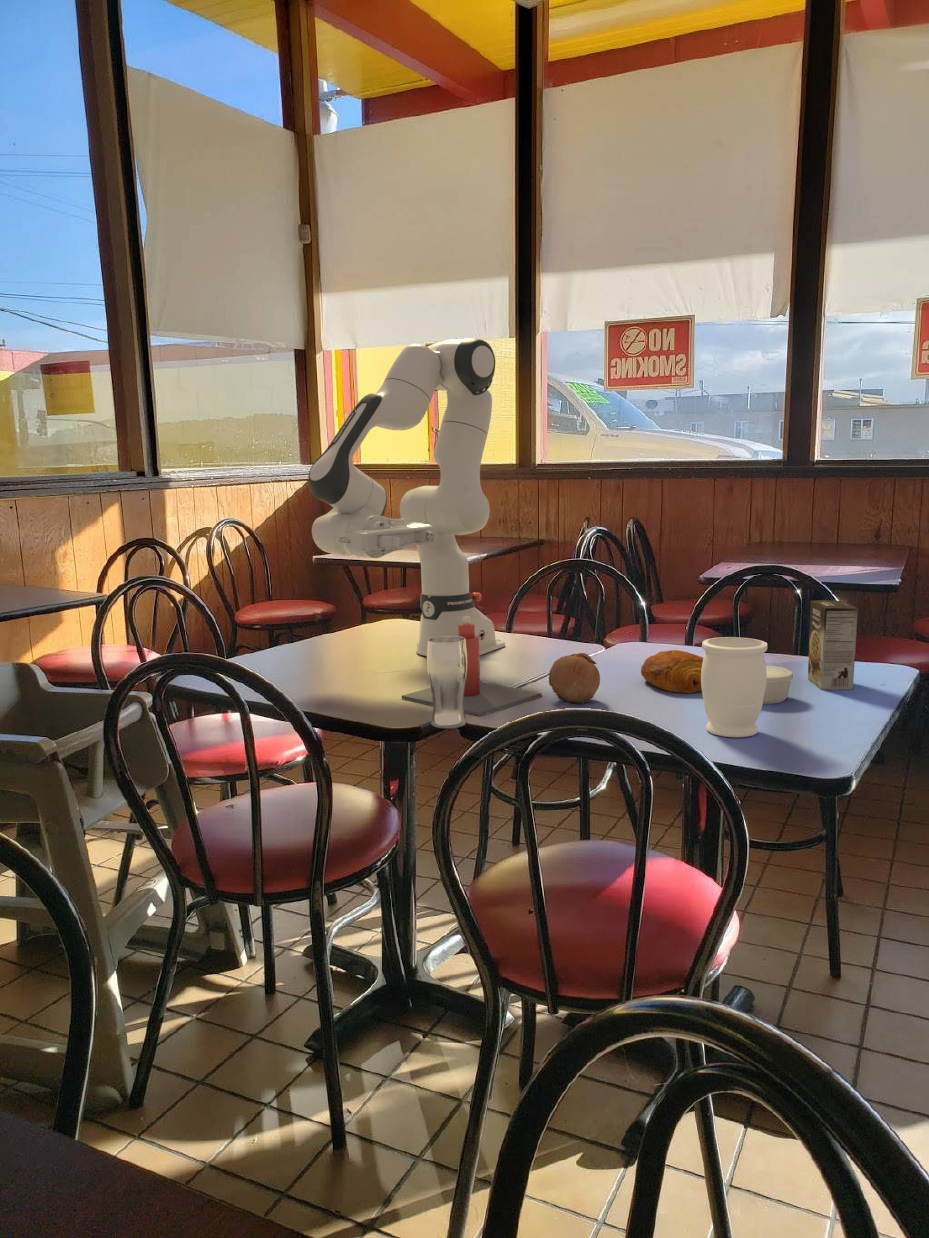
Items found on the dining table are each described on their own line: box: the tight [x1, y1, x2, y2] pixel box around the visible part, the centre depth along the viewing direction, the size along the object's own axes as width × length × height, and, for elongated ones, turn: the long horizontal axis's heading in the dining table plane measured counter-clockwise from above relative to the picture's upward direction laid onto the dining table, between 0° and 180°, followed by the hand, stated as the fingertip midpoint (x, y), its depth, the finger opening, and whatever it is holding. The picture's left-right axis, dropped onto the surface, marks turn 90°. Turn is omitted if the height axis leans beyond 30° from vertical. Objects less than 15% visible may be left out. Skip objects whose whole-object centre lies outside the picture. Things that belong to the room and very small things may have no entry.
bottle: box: [458, 616, 481, 697], centre depth 182 cm, size 5×5×15 cm
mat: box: [401, 680, 543, 717], centre depth 183 cm, size 18×20×1 cm
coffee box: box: [807, 599, 858, 691], centre depth 186 cm, size 9×6×16 cm
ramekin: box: [763, 664, 794, 705], centre depth 178 cm, size 11×11×5 cm
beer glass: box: [426, 636, 467, 729], centre depth 164 cm, size 7×7×15 cm
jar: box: [701, 636, 768, 738], centre depth 156 cm, size 11×10×15 cm
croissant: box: [640, 649, 704, 694], centre depth 189 cm, size 14×16×8 cm
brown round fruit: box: [548, 652, 601, 704], centre depth 178 cm, size 10×9×10 cm
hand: (419, 539), depth 187 cm, fingers open, 8 cm apart
